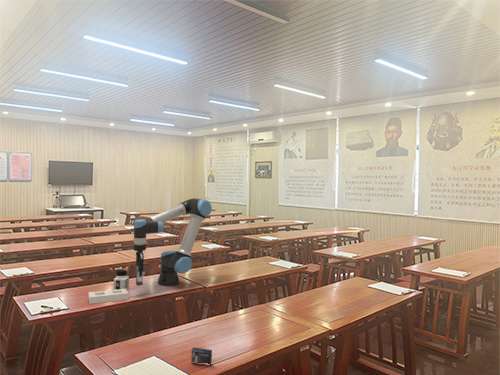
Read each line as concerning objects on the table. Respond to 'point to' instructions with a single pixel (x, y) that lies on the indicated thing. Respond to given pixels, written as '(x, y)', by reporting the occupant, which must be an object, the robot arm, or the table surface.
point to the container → (121, 280)
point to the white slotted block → (107, 296)
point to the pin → (137, 278)
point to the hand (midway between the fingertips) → (139, 280)
